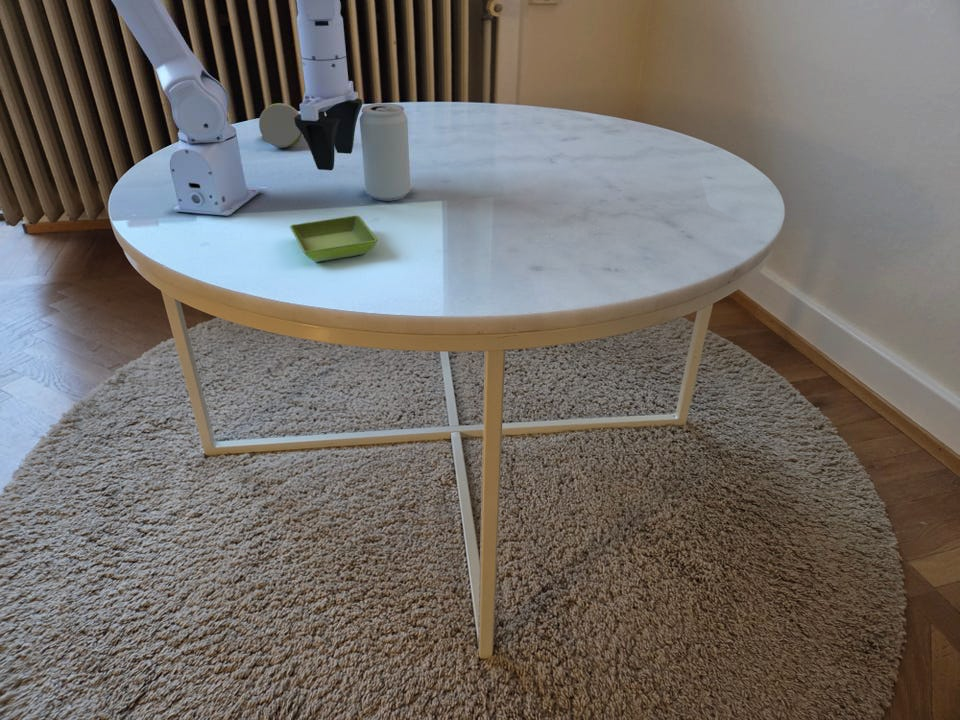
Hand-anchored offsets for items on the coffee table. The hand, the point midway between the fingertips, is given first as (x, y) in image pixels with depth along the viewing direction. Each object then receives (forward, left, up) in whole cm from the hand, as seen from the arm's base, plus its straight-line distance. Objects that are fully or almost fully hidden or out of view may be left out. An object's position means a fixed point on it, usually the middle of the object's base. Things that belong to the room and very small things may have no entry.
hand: (335, 160), depth 95 cm
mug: (+21, +18, -5) cm, 28 cm away
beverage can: (0, -7, -5) cm, 9 cm away
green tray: (-19, -6, -5) cm, 21 cm away
